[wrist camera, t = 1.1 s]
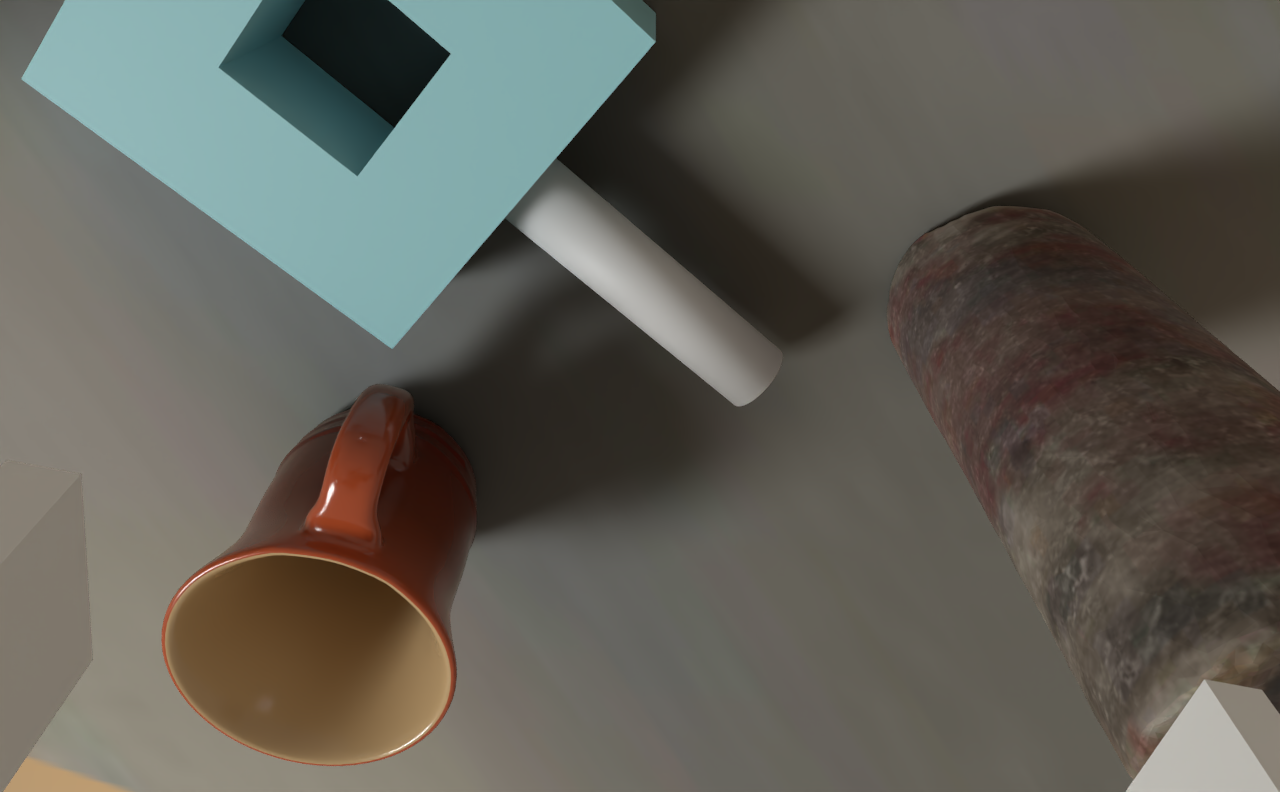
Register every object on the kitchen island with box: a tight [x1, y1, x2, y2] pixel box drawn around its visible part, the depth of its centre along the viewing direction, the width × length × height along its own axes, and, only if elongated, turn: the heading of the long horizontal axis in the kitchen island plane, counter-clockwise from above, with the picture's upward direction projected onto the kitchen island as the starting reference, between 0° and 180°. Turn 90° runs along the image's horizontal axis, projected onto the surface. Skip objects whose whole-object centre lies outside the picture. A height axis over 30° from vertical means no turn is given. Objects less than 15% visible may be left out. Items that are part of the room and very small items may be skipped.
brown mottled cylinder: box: [887, 206, 1280, 780], centre depth 26 cm, size 8×7×20 cm
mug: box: [161, 384, 477, 766], centre depth 33 cm, size 12×9×10 cm
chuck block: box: [21, 0, 783, 406], centre depth 30 cm, size 22×12×5 cm, turn 48°
